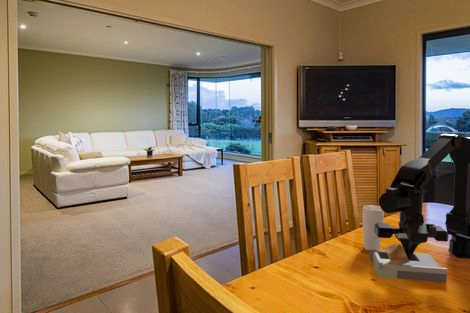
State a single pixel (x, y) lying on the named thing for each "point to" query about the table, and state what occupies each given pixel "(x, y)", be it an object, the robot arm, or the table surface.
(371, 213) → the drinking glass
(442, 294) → the table surface
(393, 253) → the ochre block
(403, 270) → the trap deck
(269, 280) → the table surface
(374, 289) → the table surface
